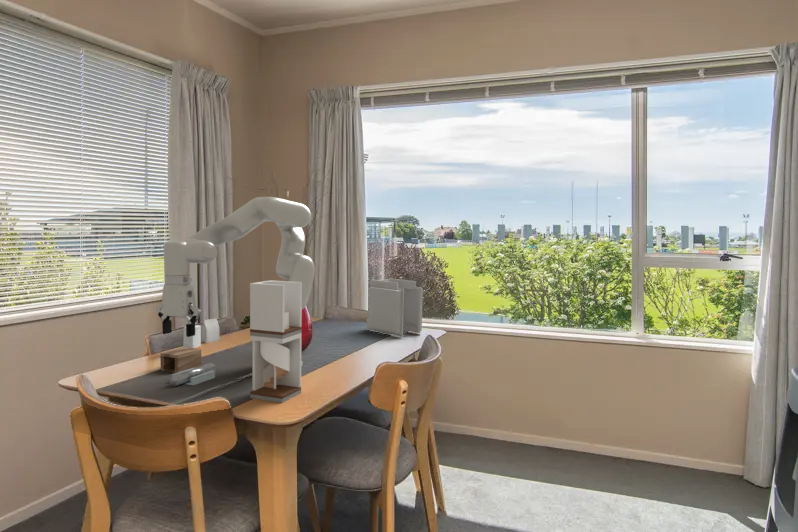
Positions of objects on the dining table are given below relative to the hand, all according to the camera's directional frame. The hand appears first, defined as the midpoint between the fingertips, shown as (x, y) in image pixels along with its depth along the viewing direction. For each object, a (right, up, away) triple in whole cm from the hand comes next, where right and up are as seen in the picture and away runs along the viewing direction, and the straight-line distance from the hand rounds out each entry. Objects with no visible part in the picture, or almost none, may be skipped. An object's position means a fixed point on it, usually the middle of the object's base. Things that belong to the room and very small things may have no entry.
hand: (178, 334), depth 175 cm
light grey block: (-15, -12, +72) cm, 75 cm away
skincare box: (-12, -14, +45) cm, 48 cm away
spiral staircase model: (+31, -19, -3) cm, 37 cm away
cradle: (+2, -17, +7) cm, 19 cm away
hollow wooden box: (-8, -16, +21) cm, 28 cm away
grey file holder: (+67, -12, +100) cm, 121 cm away
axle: (+2, -16, +7) cm, 17 cm away
